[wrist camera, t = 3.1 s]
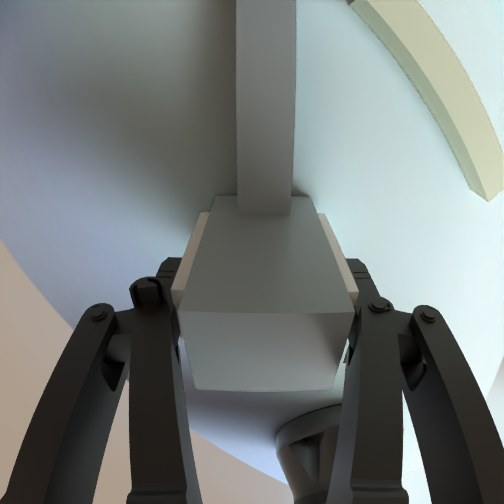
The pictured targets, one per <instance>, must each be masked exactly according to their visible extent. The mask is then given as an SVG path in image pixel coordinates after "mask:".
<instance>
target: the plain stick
mask: <svg viewBox="0 0 504 504" xmlns="http://www.w3.org/2000/svg"><path fill="white" fill-rule="evenodd" d="M349 6H350V7H351V8H352V9H353V10H354V11H355V12H356V13H357V14H358V15H359V16H360V18H361V19H362V20H363V21H364V22H365V23H366V24H367V25H368V27H369V28H370V29H371V30H372V31H373V32H374V33H375V35H376V36H377V37H378V38H379V39H380V41H381V42H382V43H383V44H384V46H385V47H386V48H387V49H388V51H389V52H390V53H391V54H392V56H393V57H394V58H395V60H396V61H397V62H398V64H399V65H400V66H401V68H402V69H403V71H404V72H405V73H406V75H407V76H408V78H409V79H410V80H411V82H412V83H413V85H414V86H415V88H416V89H417V91H418V92H419V94H420V95H421V97H422V99H423V100H424V102H425V103H426V105H427V107H428V108H429V110H430V111H431V113H432V115H433V116H434V118H435V120H436V122H437V123H438V125H439V127H440V129H441V130H442V132H443V134H444V136H445V138H446V140H447V142H448V143H449V145H450V147H451V149H452V151H453V153H454V155H455V157H456V159H457V161H458V163H459V165H460V168H461V170H462V172H463V174H464V176H465V178H466V181H467V183H468V185H469V188H470V189H471V190H472V191H473V192H475V193H476V194H478V195H479V196H481V197H482V198H483V199H485V200H486V201H488V202H490V201H491V200H492V199H493V198H494V197H495V196H496V195H497V194H498V193H499V192H500V191H501V190H502V189H503V188H504V154H503V151H502V149H501V146H500V143H499V141H498V138H497V136H496V133H495V131H494V128H493V126H492V124H491V121H490V119H489V117H488V115H487V112H486V110H485V108H484V106H483V104H482V102H481V100H480V98H479V96H478V94H477V92H476V90H475V88H474V86H473V84H472V82H471V80H470V79H469V77H468V75H467V73H466V71H465V70H464V68H463V66H462V64H461V63H460V61H459V59H458V58H457V56H456V55H455V53H454V51H453V50H452V48H451V47H450V45H449V44H448V42H447V40H446V39H445V37H444V36H443V35H442V33H441V32H440V30H439V29H438V27H437V26H436V25H435V23H434V22H433V20H432V19H431V18H430V16H429V15H428V14H427V12H426V11H425V10H424V9H423V7H422V6H421V5H420V4H419V2H418V1H417V0H355V1H354V2H352V3H351V4H350V5H349Z"/></svg>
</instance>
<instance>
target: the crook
mask: <svg viewBox="0 0 504 504" xmlns="http://www.w3.org/2000/svg"><path fill="white" fill-rule="evenodd" d="M295 89H296V0H236V145H237V195H216V196H215V199H214V202H213V205H212V208H211V211H210V213H209V216H208V219H207V222H206V225H205V228H204V231H203V234H202V237H201V240H200V243H199V246H198V249H197V252H196V255H195V258H194V261H193V264H192V267H191V270H190V273H189V277H188V280H187V283H186V286H185V289H184V292H183V296H182V299H181V302H180V306H179V309H178V314H179V319H180V324H181V328H182V333H183V338H184V342H185V347H186V351H187V355H188V360H189V364H190V368H191V372H192V376H193V380H194V384H195V388H196V389H201V390H217V391H243V392H289V391H315V390H330V389H331V386H332V383H333V381H334V378H335V375H336V372H337V369H338V366H339V363H340V360H341V357H342V354H343V351H344V348H345V345H346V341H347V338H348V335H349V332H350V328H351V325H352V322H353V318H354V315H355V310H354V307H353V304H352V301H351V299H350V296H349V293H348V290H347V288H346V285H345V282H344V279H343V277H342V274H341V272H340V269H339V266H338V264H337V261H336V259H335V256H334V253H333V251H332V248H331V246H330V243H329V241H328V238H327V236H326V233H325V231H324V229H323V226H322V224H321V221H320V219H319V217H318V214H317V212H316V209H315V207H314V205H313V202H312V200H311V198H310V197H305V196H291V191H292V171H293V149H294V124H295Z"/></svg>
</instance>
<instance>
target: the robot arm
mask: <svg viewBox="0 0 504 504" xmlns="http://www.w3.org/2000/svg"><path fill="white" fill-rule="evenodd" d="M209 213H210V212H201V213H200V215H199V218H198V220H197V223H196V225H195V228H194V230H193V233H192V235H191V238H190V240H189V243H188V245H187V248H186V250H185V253H184V255H183V258H175V257H168V258H167V259H166V260H165V261H164V262H163V263H161V265H160V268H159V270H158V272H157V274H156V277H144V278H140V279H138V280H136V281H135V282H134V283H133V284H132V285H131V286H130V288H129V291H130V295H131V298H132V301H133V305H134V308H133V309H129V310H125V311H119V312H115V311H114V309H113V307H112V306H111V305H110V304H106V303H100V304H96V305H93V306H91V307H90V308H88V309H87V310H86V311H85V313H84V314H83V316H82V317H81V319H80V321H79V323H78V325H77V326H76V328H75V330H74V332H73V334H72V336H71V337H70V340H69V341H68V343H67V345H66V347H65V349H64V351H63V353H62V355H61V357H60V359H59V361H58V362H57V365H56V367H55V369H54V371H53V373H52V375H51V377H50V379H49V381H48V383H47V385H46V387H45V390H44V392H43V394H42V396H41V399H40V401H39V403H38V405H37V408H36V410H35V412H34V415H33V417H32V419H31V422H30V424H29V427H28V429H27V432H26V434H25V437H24V440H23V442H22V445H21V448H20V451H19V453H18V456H17V459H16V462H15V465H14V468H13V471H12V474H11V477H10V481H9V484H8V487H7V491H6V493H5V495H4V496H3V497H2V498H1V500H0V504H92V502H93V497H94V493H95V489H96V484H97V480H98V475H99V472H100V467H101V463H102V459H103V456H104V452H105V448H106V444H107V441H108V437H109V433H110V430H111V426H112V423H113V419H114V416H115V412H116V409H117V406H118V403H119V399H120V396H121V393H122V390H123V387H124V383H125V380H126V377H127V374H128V371H129V368H130V378H129V443H130V465H131V480H132V489H131V492H130V493H129V494H128V496H127V500H126V504H203V503H202V498H201V494H200V489H199V484H198V479H197V474H196V468H195V462H194V456H193V451H192V444H191V438H190V432H189V425H188V418H187V411H186V403H185V395H184V387H183V379H182V369H181V360H180V350H179V346H178V340H179V336H180V337H181V341H182V343H185V342H184V338H183V333H182V328H181V324H180V319H179V314H178V309H179V306H180V302H181V299H182V296H183V292H184V289H185V286H186V283H187V280H188V277H189V273H190V270H191V267H192V264H193V261H194V258H195V255H196V252H197V249H198V246H199V243H200V240H201V237H202V234H203V231H204V228H205V225H206V222H207V219H208V216H209ZM318 217H319V219H320V221H321V224H322V226H323V229H324V231H325V233H326V236H327V238H328V241H329V243H330V246H331V248H332V251H333V253H334V256H335V259H336V261H337V264H338V266H339V269H340V272H341V274H342V277H343V279H344V282H345V285H346V288H347V290H348V293H349V296H350V299H351V301H352V304H353V307H354V310H355V315H354V318H353V322H352V325H351V328H350V332H349V335H348V339H349V346H348V349H347V352H346V355H345V358H344V361H343V363H346V369H345V381H344V391H343V401H342V405H337V406H333V407H328V408H325V409H321V410H318V411H315V412H312V413H309V414H306V415H304V416H301V417H299V418H297V419H295V420H293V421H291V422H289V423H288V424H286V425H285V426H284V427H282V428H281V429H280V430H279V432H278V433H277V435H276V454H277V458H278V460H279V463H280V465H281V467H282V470H283V472H284V474H285V477H286V479H287V481H288V484H289V486H290V488H291V491H292V493H293V497H294V504H409V496H408V493H407V491H406V490H405V489H403V488H402V484H401V478H402V460H403V431H404V428H403V402H402V390H403V393H404V397H405V400H406V403H407V406H408V410H409V413H410V416H411V420H412V423H413V427H414V430H415V434H416V438H417V441H418V445H419V449H420V453H421V457H422V461H423V465H424V469H425V473H426V478H427V482H428V487H429V492H430V497H431V502H432V504H504V448H503V445H502V442H501V439H500V437H499V434H498V431H497V429H496V426H495V424H494V421H493V418H492V416H491V414H490V411H489V409H488V406H487V404H486V401H485V399H484V397H483V395H482V392H481V390H480V388H479V386H478V384H477V381H476V379H475V377H474V375H473V373H472V371H471V369H470V367H469V365H468V363H467V361H466V359H465V357H464V355H463V353H462V351H461V349H460V347H459V345H458V343H457V342H456V340H455V338H454V336H453V334H452V332H451V330H450V329H449V327H448V325H447V323H446V322H445V320H444V318H443V316H442V315H441V314H440V312H439V311H438V310H436V309H435V308H433V307H431V306H428V305H420V306H417V307H416V308H414V310H413V313H412V314H411V313H406V312H401V311H397V310H394V307H393V305H392V303H391V302H390V301H389V300H387V299H385V298H383V297H380V295H379V292H378V290H377V288H376V286H375V284H374V282H373V280H372V279H371V276H370V274H369V273H368V270H367V268H366V266H365V264H363V263H362V262H361V261H360V260H359V259H345V257H344V255H343V253H342V250H341V248H340V246H339V244H338V241H337V239H336V237H335V235H334V233H333V230H332V228H331V226H330V224H329V222H328V220H327V217H326V215H325V214H318Z"/></svg>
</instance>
